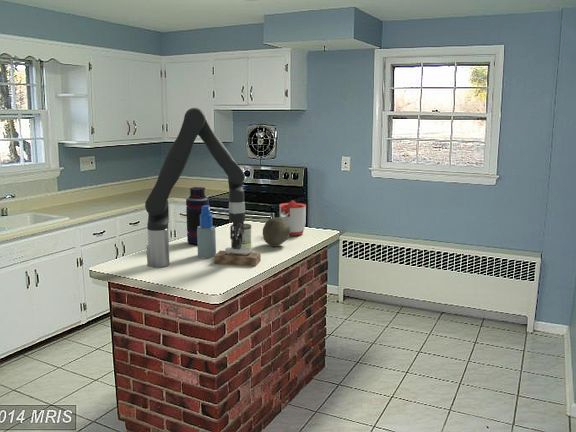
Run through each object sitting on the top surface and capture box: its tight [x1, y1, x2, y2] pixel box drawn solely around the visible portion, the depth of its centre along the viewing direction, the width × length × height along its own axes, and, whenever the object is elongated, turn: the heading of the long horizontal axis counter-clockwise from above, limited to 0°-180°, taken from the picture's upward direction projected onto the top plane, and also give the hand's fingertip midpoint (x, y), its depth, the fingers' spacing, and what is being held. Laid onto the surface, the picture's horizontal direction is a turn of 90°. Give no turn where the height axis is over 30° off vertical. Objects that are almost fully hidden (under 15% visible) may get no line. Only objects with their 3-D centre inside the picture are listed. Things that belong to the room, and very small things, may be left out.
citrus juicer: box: [279, 199, 307, 237], centre depth 315 cm, size 16×17×20 cm
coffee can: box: [230, 223, 252, 252], centre depth 274 cm, size 10×10×14 cm
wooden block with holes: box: [213, 250, 262, 267], centre depth 258 cm, size 20×9×4 cm, turn 79°
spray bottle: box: [197, 204, 217, 259], centre depth 267 cm, size 9×9×25 cm
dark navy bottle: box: [185, 186, 210, 245], centre depth 293 cm, size 14×12×30 cm
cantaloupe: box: [262, 216, 290, 247], centre depth 289 cm, size 14×14×15 cm
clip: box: [224, 238, 250, 256], centre depth 257 cm, size 11×3×12 cm, turn 79°
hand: (237, 245), depth 257 cm, fingers open, 8 cm apart
